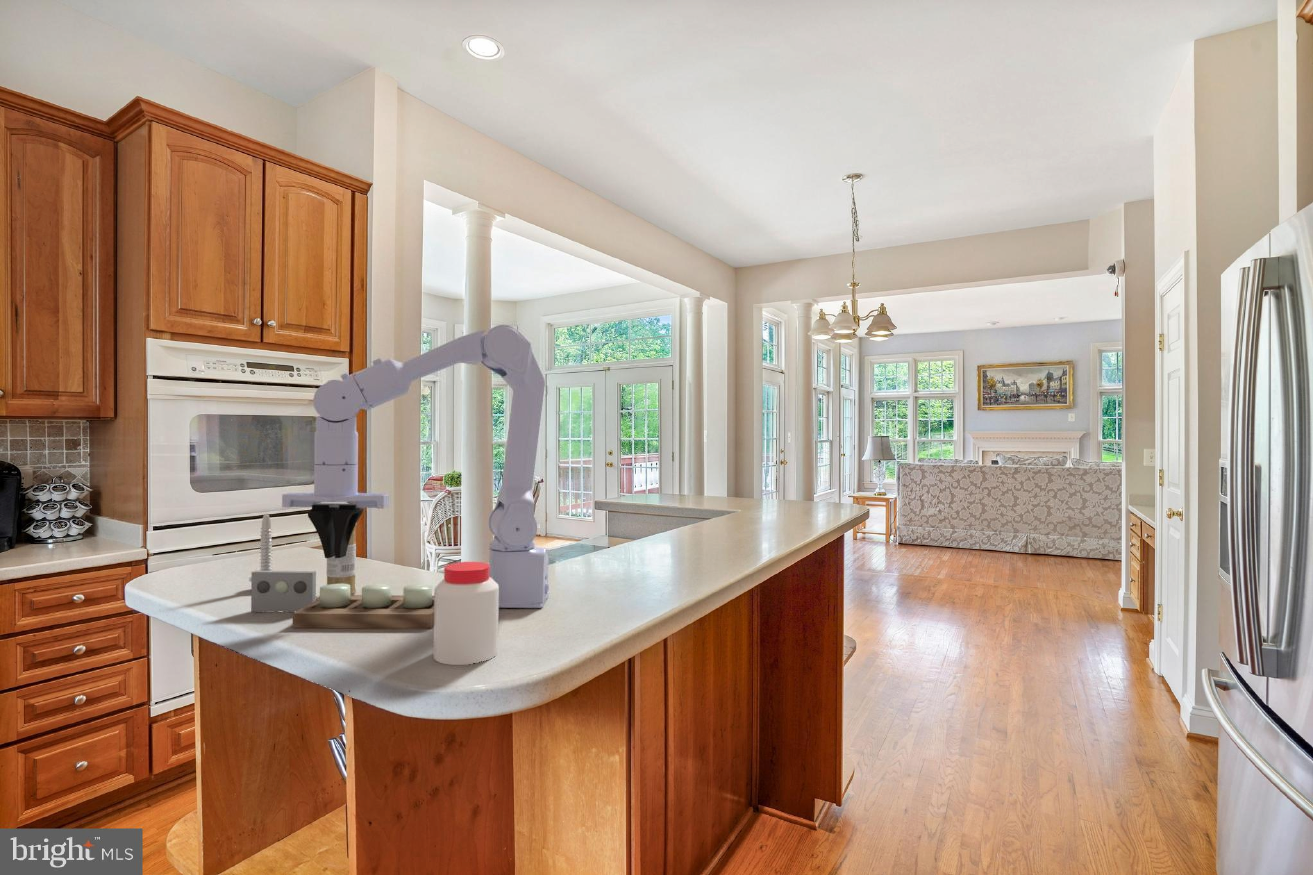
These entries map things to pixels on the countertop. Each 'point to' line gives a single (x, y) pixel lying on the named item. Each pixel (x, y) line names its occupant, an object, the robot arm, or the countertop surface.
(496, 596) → the pill bottle
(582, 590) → the countertop surface
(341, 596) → the button
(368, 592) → the button mid
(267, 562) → the screw
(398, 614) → the wooden compartment tray
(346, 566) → the sprinkles bottle
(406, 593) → the button
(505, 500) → the robot arm
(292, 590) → the card
